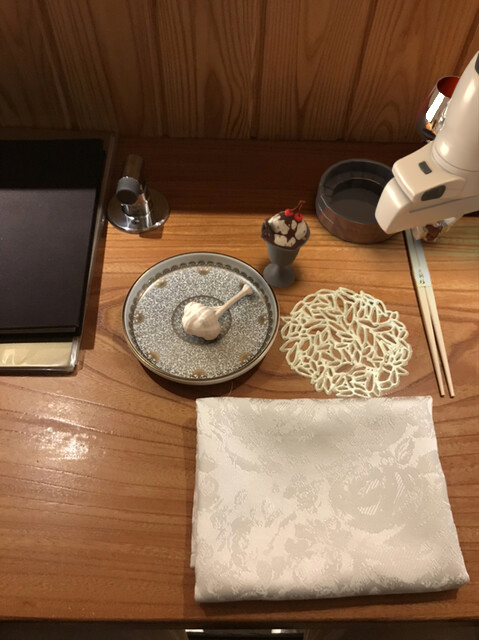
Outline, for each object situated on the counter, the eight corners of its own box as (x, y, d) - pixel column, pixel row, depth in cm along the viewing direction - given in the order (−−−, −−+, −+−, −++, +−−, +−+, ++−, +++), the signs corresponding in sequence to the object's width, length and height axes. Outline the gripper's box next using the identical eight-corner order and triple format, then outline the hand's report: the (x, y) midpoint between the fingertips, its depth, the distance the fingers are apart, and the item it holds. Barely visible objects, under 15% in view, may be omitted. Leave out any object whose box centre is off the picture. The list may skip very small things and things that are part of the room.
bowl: (377, 173, 97) (385, 151, 93) (417, 234, 90) (427, 212, 86) (301, 191, 94) (305, 168, 90) (336, 255, 87) (342, 233, 83)
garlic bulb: (264, 286, 79) (200, 329, 73) (264, 311, 82) (203, 355, 76) (230, 266, 82) (166, 305, 76) (231, 291, 86) (170, 330, 80)
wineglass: (443, 201, 94) (486, 109, 79) (394, 194, 94) (428, 102, 79) (441, 167, 98) (482, 74, 83) (394, 161, 99) (426, 67, 83)
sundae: (308, 269, 85) (324, 198, 73) (288, 300, 82) (300, 232, 70) (270, 251, 87) (279, 179, 74) (249, 281, 84) (254, 211, 71)
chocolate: (413, 238, 89) (420, 221, 85) (421, 230, 89) (428, 213, 86) (429, 248, 88) (437, 231, 84) (437, 240, 88) (445, 223, 85)
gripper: (513, 133, 79) (476, 203, 91) (382, 165, 75) (361, 233, 87) (540, 163, 76) (498, 231, 87) (405, 198, 72) (380, 264, 84)
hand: (429, 232), depth 87 cm, fingers closed on chocolate, 2 cm apart
